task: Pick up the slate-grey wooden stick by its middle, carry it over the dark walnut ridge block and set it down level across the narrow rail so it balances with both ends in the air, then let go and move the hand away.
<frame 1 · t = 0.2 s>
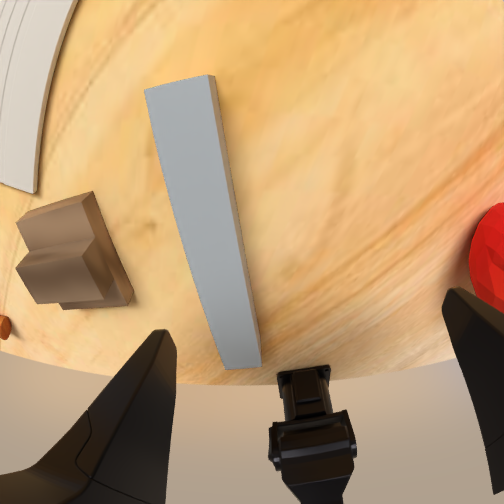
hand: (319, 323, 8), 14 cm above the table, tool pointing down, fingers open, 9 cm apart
ridge block: (77, 251, 23), on the table
baseboard molding: (30, 8, 11), on the table
slate stick: (219, 237, 23), on the table
tomato: (487, 231, 23), on the table
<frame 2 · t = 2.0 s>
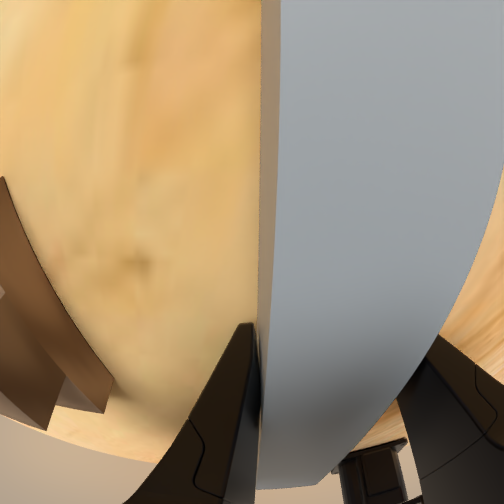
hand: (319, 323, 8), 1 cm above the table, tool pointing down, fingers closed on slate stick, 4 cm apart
ridge block: (3, 303, 9), on the table
slate stick: (311, 292, 9), on the table, touching gripper
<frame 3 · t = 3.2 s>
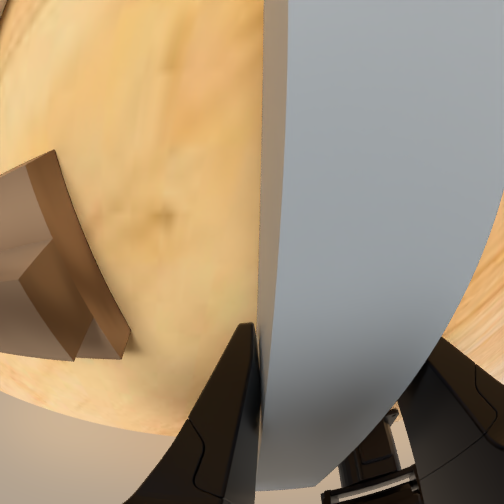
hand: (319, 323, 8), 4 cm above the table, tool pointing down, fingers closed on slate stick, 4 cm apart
ridge block: (35, 263, 12), on the table
slate stick: (311, 295, 9), point 3 cm above the table, touching gripper
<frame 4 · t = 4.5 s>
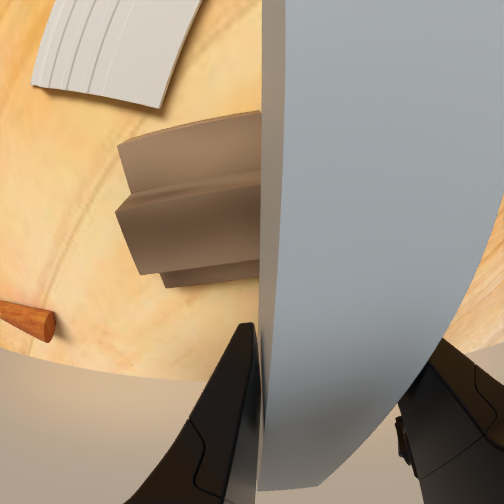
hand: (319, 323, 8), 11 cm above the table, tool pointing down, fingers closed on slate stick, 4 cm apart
ridge block: (208, 199, 18), on the table
slate stick: (313, 294, 9), point 10 cm above the table, touching gripper
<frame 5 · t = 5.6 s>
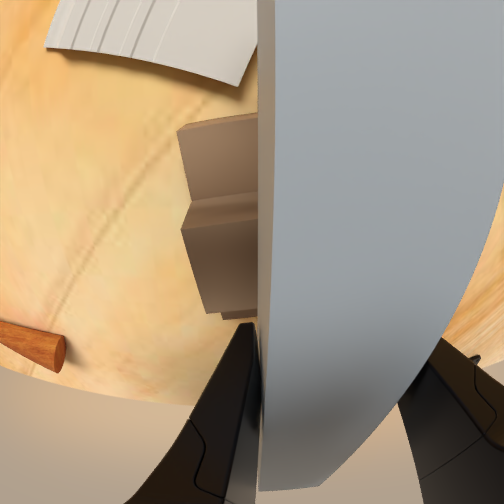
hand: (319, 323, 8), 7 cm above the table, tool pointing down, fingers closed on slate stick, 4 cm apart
ridge block: (285, 210, 14), on the table
slate stick: (312, 293, 9), point 6 cm above the table, touching gripper
when the fingers open (6 cm above the table, at t = 6.5 s): slate stick stays where it is, resting on ridge block.
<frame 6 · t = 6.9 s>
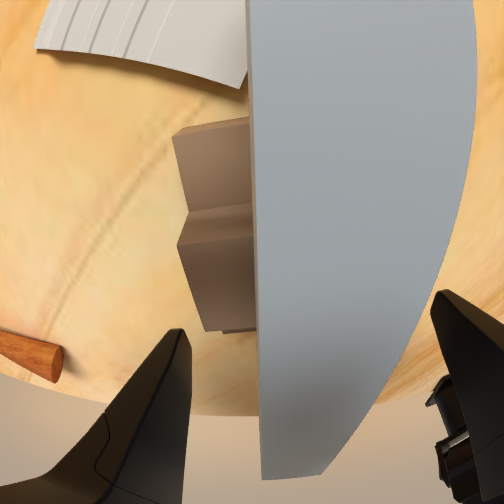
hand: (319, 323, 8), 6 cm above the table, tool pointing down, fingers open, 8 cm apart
ridge block: (289, 220, 14), on the table
slate stick: (306, 278, 10), point 4 cm above the table, touching ridge block
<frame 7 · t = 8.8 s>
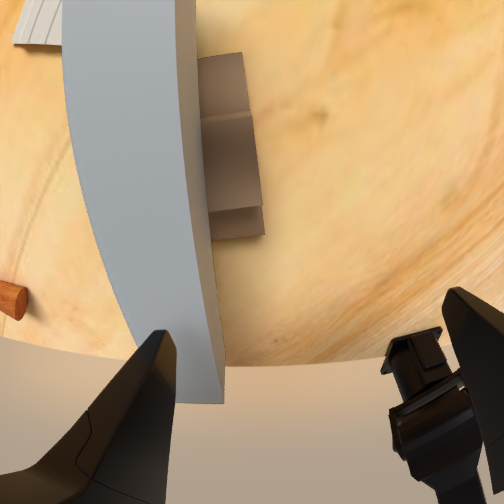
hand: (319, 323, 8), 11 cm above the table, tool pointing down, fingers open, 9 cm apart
ridge block: (183, 151, 16), on the table
slate stick: (164, 175, 12), point 4 cm above the table, touching ridge block
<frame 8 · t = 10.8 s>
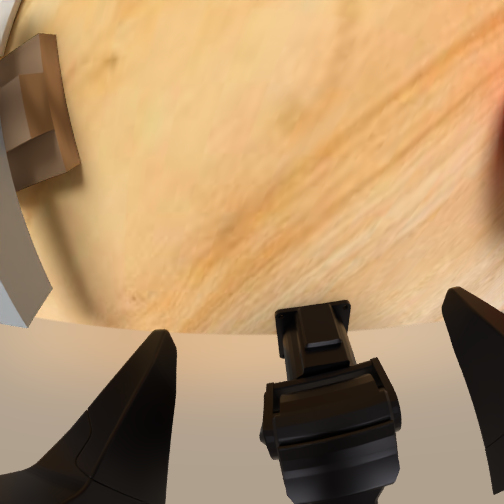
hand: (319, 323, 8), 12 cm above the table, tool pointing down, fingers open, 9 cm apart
ridge block: (25, 116, 14), on the table
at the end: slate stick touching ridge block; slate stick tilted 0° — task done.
